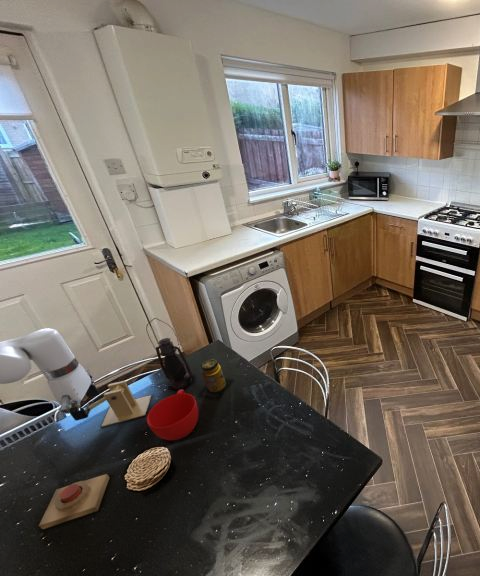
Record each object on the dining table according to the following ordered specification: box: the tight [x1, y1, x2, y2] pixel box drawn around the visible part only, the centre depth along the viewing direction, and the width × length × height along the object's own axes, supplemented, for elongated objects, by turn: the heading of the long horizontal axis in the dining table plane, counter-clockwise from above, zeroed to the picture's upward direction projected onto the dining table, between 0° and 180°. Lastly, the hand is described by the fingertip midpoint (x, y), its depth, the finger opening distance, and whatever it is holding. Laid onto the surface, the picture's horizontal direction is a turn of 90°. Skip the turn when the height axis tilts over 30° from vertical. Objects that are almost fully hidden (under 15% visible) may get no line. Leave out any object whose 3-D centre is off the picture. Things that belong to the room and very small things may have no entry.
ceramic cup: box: [146, 389, 199, 441], centre depth 99 cm, size 13×17×10 cm
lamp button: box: [60, 483, 82, 503], centre depth 79 cm, size 4×4×2 cm
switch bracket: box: [101, 380, 152, 428], centre depth 103 cm, size 12×9×12 cm
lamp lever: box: [84, 385, 124, 415], centre depth 101 cm, size 12×5×2 cm, turn 111°
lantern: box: [145, 317, 194, 390], centre depth 110 cm, size 8×8×30 cm
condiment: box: [201, 358, 227, 393], centre depth 112 cm, size 7×8×12 cm
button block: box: [38, 473, 110, 530], centre depth 80 cm, size 11×9×4 cm
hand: (88, 406), depth 100 cm, fingers open, 9 cm apart
